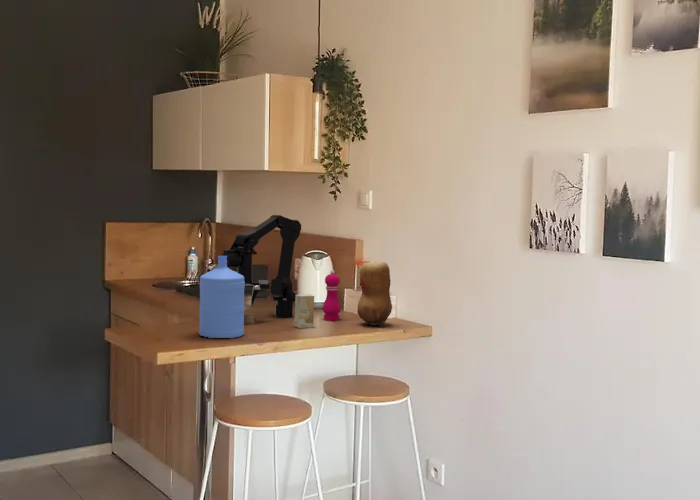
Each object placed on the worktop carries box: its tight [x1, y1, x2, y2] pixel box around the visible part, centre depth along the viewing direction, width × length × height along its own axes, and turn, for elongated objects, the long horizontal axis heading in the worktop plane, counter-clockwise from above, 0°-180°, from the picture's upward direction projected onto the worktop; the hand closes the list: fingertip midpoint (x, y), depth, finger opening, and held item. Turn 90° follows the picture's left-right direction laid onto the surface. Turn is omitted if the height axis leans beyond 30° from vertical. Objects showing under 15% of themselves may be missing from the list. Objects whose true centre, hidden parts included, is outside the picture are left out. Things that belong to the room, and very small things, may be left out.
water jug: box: [198, 255, 245, 339], centre depth 276 cm, size 16×16×28 cm
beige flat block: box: [244, 313, 255, 325], centre depth 304 cm, size 7×7×3 cm
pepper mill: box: [322, 269, 342, 322], centre depth 314 cm, size 7×7×20 cm
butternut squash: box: [356, 260, 393, 326], centre depth 304 cm, size 14×13×25 cm
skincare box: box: [293, 293, 315, 329], centre depth 297 cm, size 6×4×12 cm
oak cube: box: [244, 295, 252, 311], centre depth 303 cm, size 5×5×5 cm
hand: (244, 306), depth 304 cm, fingers closed on oak cube, 5 cm apart
